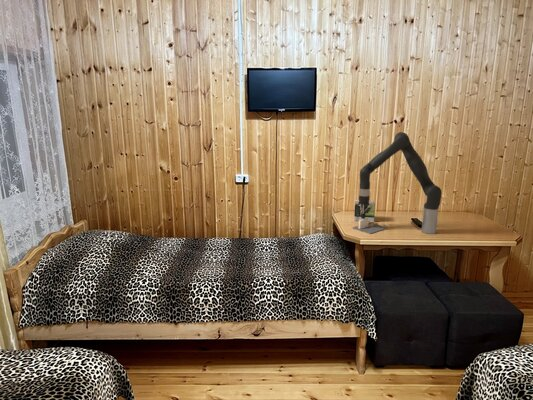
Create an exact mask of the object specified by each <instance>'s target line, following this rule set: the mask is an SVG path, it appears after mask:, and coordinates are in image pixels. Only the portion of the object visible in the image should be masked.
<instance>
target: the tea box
mask: <svg viewBox="0 0 533 400" xmlns="http://www.w3.org/2000/svg"><path fill="white" fill-rule="evenodd" d="M358 203H359V199H354V210H353V211H354V215H353V217H354V219H353V221H354V222H358V220H361V219H363V218H361V212H359V211H358V209H357V207H356V204H358ZM369 206H370V207H372V208H371V210H370V211H369V212H368V213H366V214H365V218H368V219H369V220H368V222H370V221H374V222H375V216H376V215H375V211H376V202H375V200H369ZM367 208H368V207H367Z"/></svg>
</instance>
